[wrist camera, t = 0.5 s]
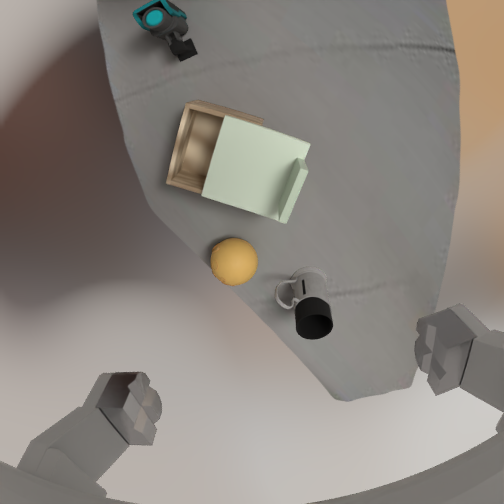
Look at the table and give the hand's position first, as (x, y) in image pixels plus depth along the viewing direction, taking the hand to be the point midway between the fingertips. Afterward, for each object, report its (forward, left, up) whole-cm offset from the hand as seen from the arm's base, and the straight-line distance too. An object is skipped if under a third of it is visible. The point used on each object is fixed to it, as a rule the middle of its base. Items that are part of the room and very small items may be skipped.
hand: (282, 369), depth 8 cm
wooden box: (+10, -6, -52) cm, 53 cm away
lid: (+8, +1, -44) cm, 44 cm away
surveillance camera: (-4, -25, -52) cm, 58 cm away
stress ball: (+27, +10, -52) cm, 60 cm away
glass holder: (+24, +26, -52) cm, 63 cm away
